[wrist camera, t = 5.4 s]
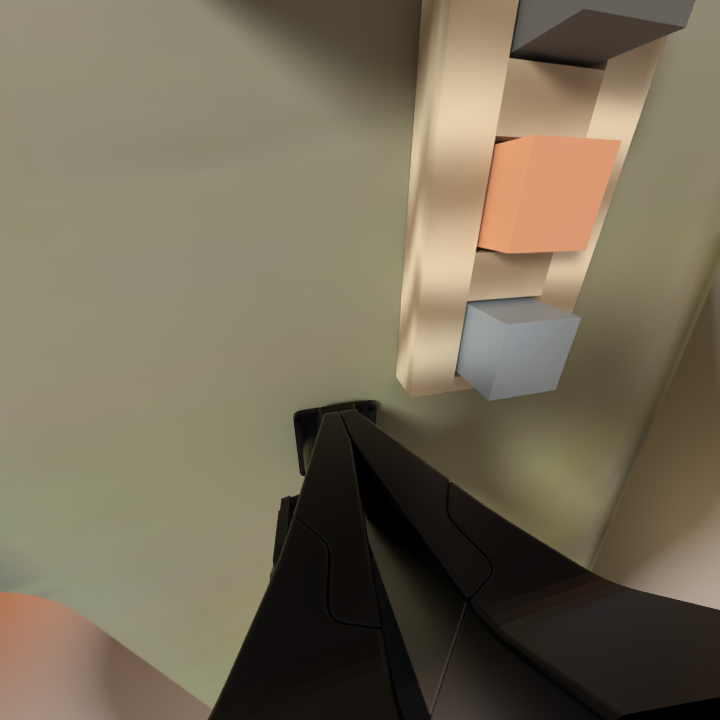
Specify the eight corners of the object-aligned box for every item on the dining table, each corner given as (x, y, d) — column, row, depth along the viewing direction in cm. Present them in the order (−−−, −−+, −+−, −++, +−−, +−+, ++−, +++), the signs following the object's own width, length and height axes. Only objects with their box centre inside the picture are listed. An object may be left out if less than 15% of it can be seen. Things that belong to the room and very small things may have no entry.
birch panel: (524, 359, 27) (550, 376, 24) (396, 376, 24) (411, 397, 22) (650, -81, 15) (726, -137, 13) (432, -143, 13) (473, -230, 10)
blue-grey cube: (504, 356, 24) (555, 390, 20) (447, 363, 23) (488, 401, 19) (520, 294, 22) (581, 317, 18) (458, 298, 21) (507, 324, 16)
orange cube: (521, 240, 21) (585, 250, 17) (457, 242, 20) (508, 253, 16) (542, 153, 19) (621, 140, 15) (470, 150, 18) (534, 134, 13)
